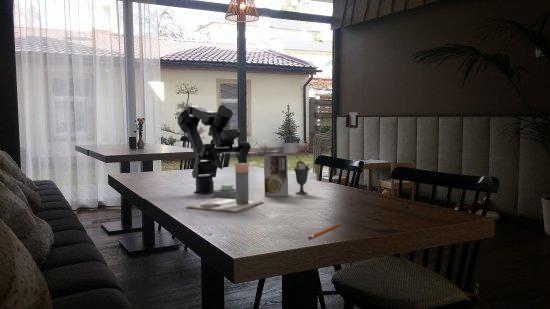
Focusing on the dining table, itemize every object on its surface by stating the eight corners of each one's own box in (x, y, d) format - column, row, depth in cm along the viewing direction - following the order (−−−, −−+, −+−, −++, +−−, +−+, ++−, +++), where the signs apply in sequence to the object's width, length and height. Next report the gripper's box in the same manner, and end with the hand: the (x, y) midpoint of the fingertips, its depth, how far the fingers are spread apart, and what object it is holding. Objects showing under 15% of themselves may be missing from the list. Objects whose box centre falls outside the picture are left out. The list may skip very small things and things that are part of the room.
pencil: (307, 239, 113) (307, 236, 113) (339, 225, 129) (339, 222, 129) (310, 240, 113) (310, 236, 113) (342, 225, 128) (342, 222, 128)
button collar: (213, 197, 174) (212, 191, 173) (223, 194, 181) (223, 188, 181) (230, 198, 170) (230, 192, 170) (241, 195, 177) (241, 189, 177)
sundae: (290, 193, 183) (290, 156, 182) (304, 191, 186) (304, 155, 185) (298, 195, 177) (297, 157, 176) (312, 194, 180) (312, 156, 179)
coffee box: (288, 193, 181) (288, 153, 180) (287, 196, 175) (287, 155, 174) (265, 193, 182) (265, 153, 181) (263, 196, 176) (263, 155, 175)
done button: (219, 192, 174) (219, 185, 174) (225, 190, 178) (225, 184, 178) (229, 192, 172) (229, 186, 172) (234, 191, 176) (234, 184, 176)
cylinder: (233, 204, 157) (232, 164, 156) (239, 201, 161) (239, 162, 160) (244, 205, 155) (244, 164, 154) (251, 202, 159) (250, 163, 158)
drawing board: (185, 208, 153) (185, 206, 153) (216, 199, 170) (216, 197, 170) (236, 213, 144) (236, 210, 144) (263, 203, 162) (263, 201, 161)
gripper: (202, 121, 161) (215, 154, 152) (248, 121, 171) (263, 151, 162) (194, 142, 168) (207, 174, 159) (239, 141, 178) (253, 171, 169)
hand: (233, 167), depth 162 cm, fingers open, 9 cm apart
